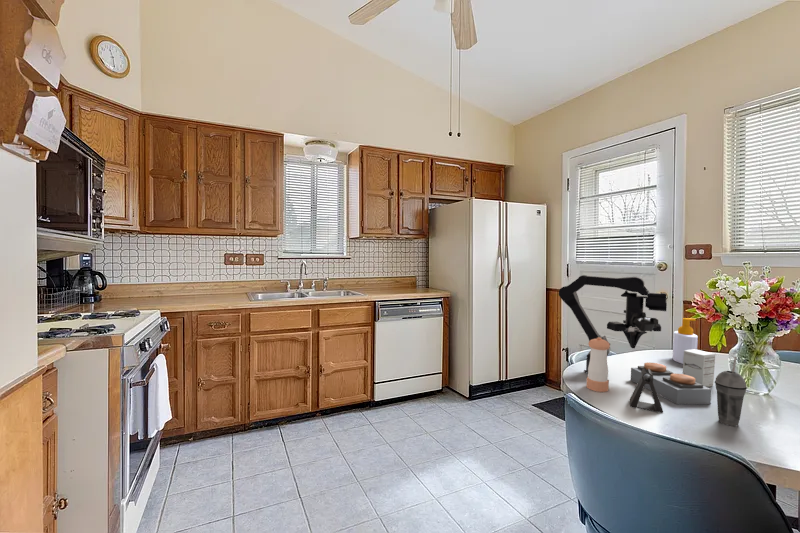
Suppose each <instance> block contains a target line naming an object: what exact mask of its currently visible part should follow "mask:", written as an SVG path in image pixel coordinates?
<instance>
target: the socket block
mask: <svg viewBox="0 0 800 533" xmlns="http://www.w3.org/2000/svg"><path fill="white" fill-rule="evenodd" d="M642 369H644V365H638V366H637V367H631V368H630V381H632V382H633V383H635V384H636V385H637V384H638V382H639V380H640V378H641V370H642ZM645 370H646V374H645V375H644V376H646V377H647V376H648V377H649V376H650V374H649V372H648V370H647V369H645ZM651 372H652V375H653V384H654V387H655V390H656V392H657V395H658V396H660V397H662V398H664V399H666V400H668V401H670V402H672V403H674V404H676V405H703V404H705V405H708V404H709V405H711V402H712V401H711V400H712V389H711V388H709V387H705V386H703V385H702V384H699V383H697V382H695V384H693V385H687V384H680V383H677V382H674V381H672V380H670V374H675V373H674V372H672V371H670V370H668V369H666V372H653V371H651ZM644 388H645V389H647V390H649V391H650V392H651V388H650V385H649V384H645V386H644Z"/></svg>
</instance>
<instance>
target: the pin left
mask: <svg viewBox="0 0 800 533" xmlns="http://www.w3.org/2000/svg"><path fill="white" fill-rule="evenodd" d="M643 366H644V368H645V369H647V370H648V369H650V370H651V371H653V372H666V370H667V365H664V364H662V363H661V364H660V363H658V362H644V363H643Z"/></svg>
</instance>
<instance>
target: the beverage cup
mask: <svg viewBox="0 0 800 533" xmlns="http://www.w3.org/2000/svg"><path fill="white" fill-rule="evenodd" d="M737 359H738V358H737V356H734V359H733V363H732V369H731V370H724V371H721V372H720V373H718V374H717V375H716V377H715V381H714V384H715V390H716V401H717V405H716V406H717V417H718V422H719V423H721V424H723V425H727V426H731V427H738V426H739V423H740V419H741V414H742V410H743V402H744V396H745V395H746V391H747V389H748V388H747V382H746V380H745V378H744V377H743V376H742V375H740V374H739V373H738V372H735V371H736V370H735V369H736V364H737Z"/></svg>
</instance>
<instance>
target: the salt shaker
mask: <svg viewBox="0 0 800 533" xmlns="http://www.w3.org/2000/svg"><path fill="white" fill-rule="evenodd" d="M607 341H608V340H607ZM607 341H606V340H603V339H602V338H600V337H597V339H592V340H590V341H589V340H588V343H587V344H588V346H589V347H590V351H591V352H590V351H589V352H590V362H589V367H588V373H587V377H586V388H587V389H589V390H590V391H593V392H598V393H599V392H600V393H605V392H608V391H609V390H610V389H609V387H610V381H609V367H608V356H607V350H608V349H609V347H610V348H611V343H610V342H609V341H608V342H609V343H610V344H609V343H608V342H607Z"/></svg>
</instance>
